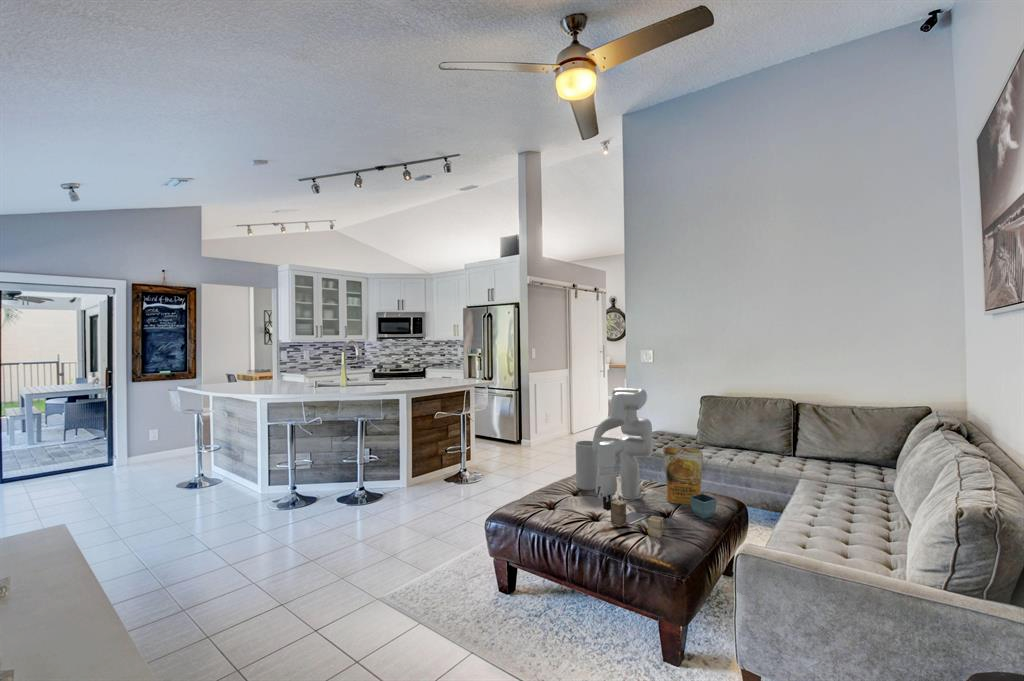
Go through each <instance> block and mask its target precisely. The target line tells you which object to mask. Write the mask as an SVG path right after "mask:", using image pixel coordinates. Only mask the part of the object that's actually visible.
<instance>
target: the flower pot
mask: <svg viewBox="0 0 1024 681" xmlns="http://www.w3.org/2000/svg"><path fill="white" fill-rule="evenodd" d="M690 501H691V505H690V506H691V509H692V511H693V513H694V515H695V516H696V515H698V516H697V517H699V516H700V517H699V518H701V517H702V518H701V519H703V518H705V519H708V517H709V518H711V517H713V515H714V514H715V511H716V509H717V508H716V507H717V502H718V499H717V498H715V497H714V496H713V497H712V496H710V495H707V494H705V493H700V494H699V495H695V496H691V497H690Z"/></svg>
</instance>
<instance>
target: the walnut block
mask: <svg viewBox="0 0 1024 681" xmlns="http://www.w3.org/2000/svg"><path fill="white" fill-rule="evenodd" d="M626 513H627V502H626V501H624V500H623V501H622V500H620V499H615V500H613V501H611V510H610V524H611V525H613V526H616V527H619V528H620V527H622V526H625V525H627V523H626Z"/></svg>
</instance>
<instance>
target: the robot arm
mask: <svg viewBox="0 0 1024 681" xmlns="http://www.w3.org/2000/svg"><path fill="white" fill-rule="evenodd" d="M611 394H612V395H611V396H612V397H611V399H610V405H609V409H608V414H607V417H606V418H605V419H604V420H603V421H601V422H600V423H599V424H598V425H597V427H596V428H595V431H594V434H593V438H592V441H593V443H592V447H593V450H594V451H595V452H596V453H598V473H597V478H596V489H595V494H596V495H598V496H597V498H598V499H599V500H601V501H602V505H603V506H602V507H603V510H605V511H609V512H610V511H611V502H613V501H612V500H613V497H614V496H615V495H616V492H618V493H617V495H618V497H619V498H622V499H624V500H629V501H630V500H631V501H634V500H635V501H636V500H640V499H642V497H643V493H642V492H641V490H644V489H645V486H644V485H640V464H639V461H638V459H637V457H640V458H641V457H642V458H649V457H651V456H652V454H653V450H654V448H653V446H654V445H653V426H652V422H651V420H650V419H648V418H643V417H638V413H637V411H639V410H641V409H642V408H643V407H644V406H645V404H647V401H648V394H647V391H646V390H645V389H644V388H637V387H635V388H634V387H633V388H632V387H631V388H630V387H616V388H614V389H613V390H612V393H611ZM619 427H620V431H621V433H622V434H623V435H626V436H623V437H621V438H616V437H615V438H614V437H608V436H607V437H605V436H603V435H604V434H605V433H606V432H609V431H611V430H613V429H616V428H619ZM630 436H631V437H630ZM616 456H620V490H619V491H617V490H618V482H617V480H618V479H617V472H616Z"/></svg>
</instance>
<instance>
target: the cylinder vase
mask: <svg viewBox="0 0 1024 681" xmlns="http://www.w3.org/2000/svg"><path fill="white" fill-rule="evenodd" d="M592 443H593V440H580V441H579V440H578V441H576V442H575V481H576V482H575V483H576V484H575V486H576V487H577V489H579V490H583V491H593V490H596V478H597V473H598V453H596V452H595V451H594V450H593V447H592Z"/></svg>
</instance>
